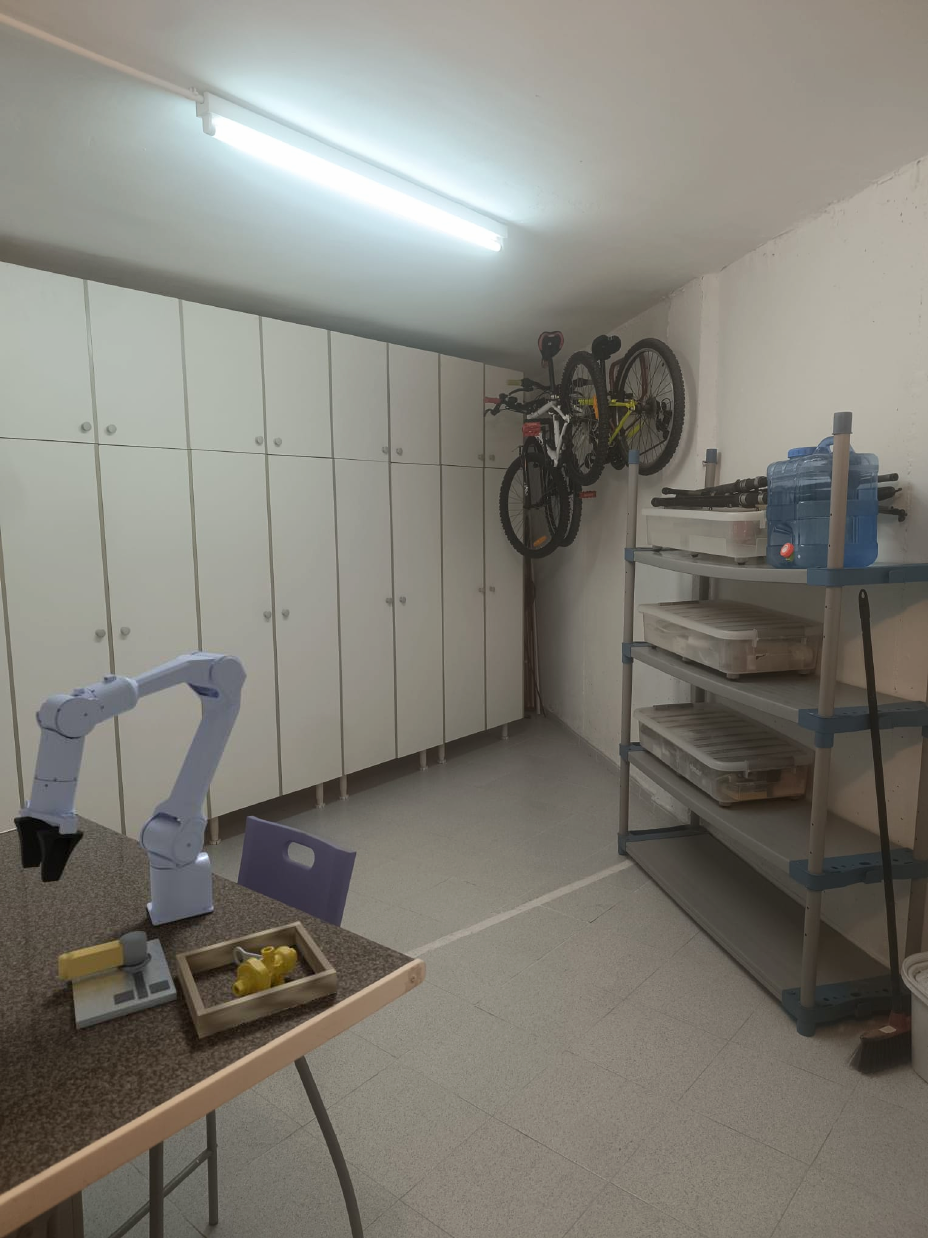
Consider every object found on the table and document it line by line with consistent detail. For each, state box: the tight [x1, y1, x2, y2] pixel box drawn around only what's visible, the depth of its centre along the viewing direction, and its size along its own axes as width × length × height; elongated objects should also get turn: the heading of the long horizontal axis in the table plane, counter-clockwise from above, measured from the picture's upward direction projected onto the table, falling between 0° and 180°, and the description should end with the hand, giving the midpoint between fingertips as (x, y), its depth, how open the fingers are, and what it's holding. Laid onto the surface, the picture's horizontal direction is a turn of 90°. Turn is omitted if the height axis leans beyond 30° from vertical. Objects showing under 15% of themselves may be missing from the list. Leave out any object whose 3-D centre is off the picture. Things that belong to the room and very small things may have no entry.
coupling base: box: [64, 938, 178, 1030], centre depth 102 cm, size 13×16×1 cm
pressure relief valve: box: [231, 946, 298, 998], centre depth 102 cm, size 6×12×10 cm
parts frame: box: [175, 921, 338, 1040], centre depth 102 cm, size 18×16×3 cm
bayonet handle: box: [57, 930, 148, 981], centre depth 104 cm, size 11×4×3 cm, turn 121°
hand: (40, 874), depth 105 cm, fingers open, 7 cm apart
